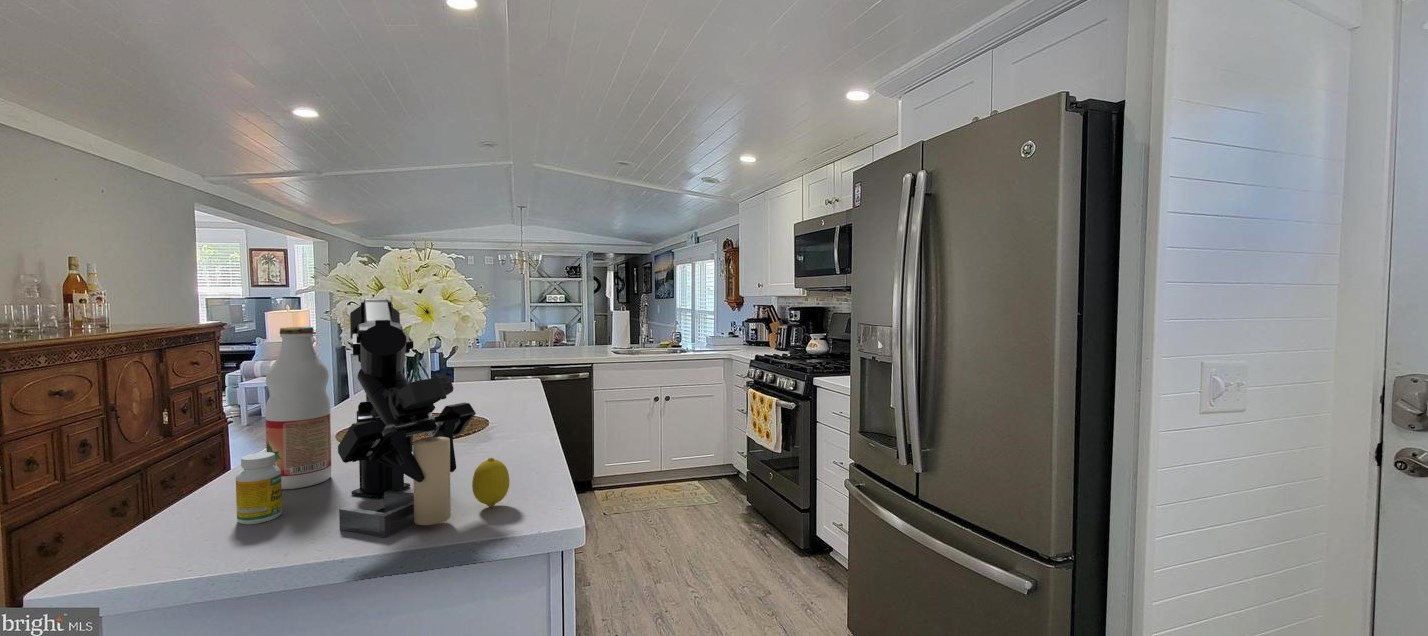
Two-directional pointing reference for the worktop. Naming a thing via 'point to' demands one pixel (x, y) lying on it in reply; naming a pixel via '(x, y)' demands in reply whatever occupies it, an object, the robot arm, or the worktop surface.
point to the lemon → (490, 482)
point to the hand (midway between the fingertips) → (438, 475)
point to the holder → (380, 516)
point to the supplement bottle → (258, 489)
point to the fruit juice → (299, 411)
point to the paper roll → (432, 481)
